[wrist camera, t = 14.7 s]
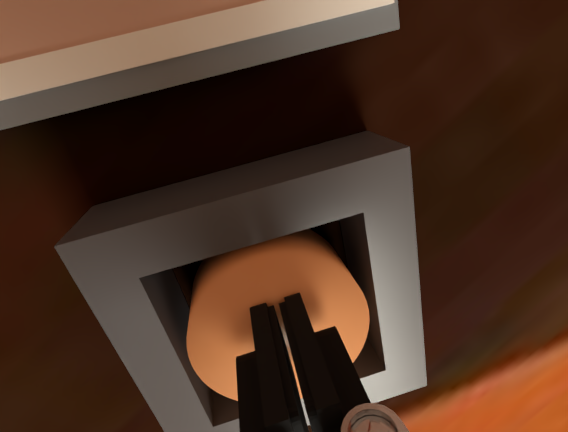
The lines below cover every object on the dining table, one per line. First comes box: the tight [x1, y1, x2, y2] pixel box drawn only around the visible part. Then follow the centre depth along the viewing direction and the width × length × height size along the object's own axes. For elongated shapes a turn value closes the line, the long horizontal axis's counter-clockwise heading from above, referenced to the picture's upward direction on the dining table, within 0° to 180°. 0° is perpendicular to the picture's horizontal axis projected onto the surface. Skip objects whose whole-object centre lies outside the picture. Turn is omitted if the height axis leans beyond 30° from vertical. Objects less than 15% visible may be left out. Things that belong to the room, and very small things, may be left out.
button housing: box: [54, 131, 427, 432], centre depth 13 cm, size 10×10×3 cm
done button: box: [186, 229, 370, 401], centre depth 12 cm, size 6×6×2 cm
